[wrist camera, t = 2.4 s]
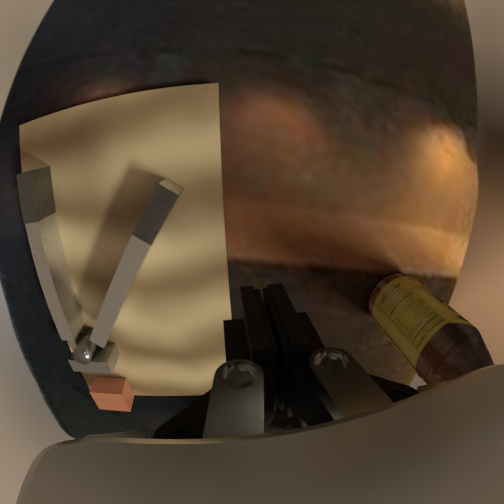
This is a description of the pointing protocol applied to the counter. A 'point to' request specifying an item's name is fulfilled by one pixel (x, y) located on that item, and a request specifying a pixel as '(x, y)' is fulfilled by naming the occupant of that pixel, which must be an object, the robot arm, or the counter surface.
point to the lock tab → (112, 393)
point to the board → (126, 218)
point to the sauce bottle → (427, 330)
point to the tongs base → (58, 273)
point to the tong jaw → (135, 257)
